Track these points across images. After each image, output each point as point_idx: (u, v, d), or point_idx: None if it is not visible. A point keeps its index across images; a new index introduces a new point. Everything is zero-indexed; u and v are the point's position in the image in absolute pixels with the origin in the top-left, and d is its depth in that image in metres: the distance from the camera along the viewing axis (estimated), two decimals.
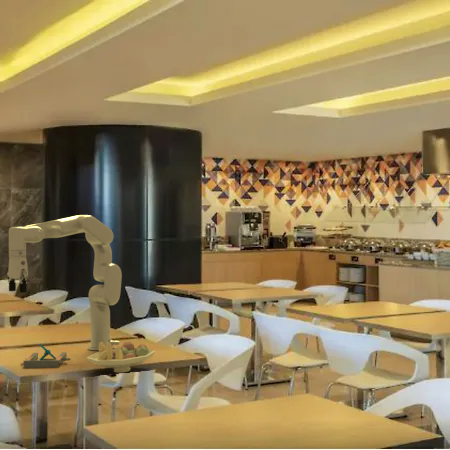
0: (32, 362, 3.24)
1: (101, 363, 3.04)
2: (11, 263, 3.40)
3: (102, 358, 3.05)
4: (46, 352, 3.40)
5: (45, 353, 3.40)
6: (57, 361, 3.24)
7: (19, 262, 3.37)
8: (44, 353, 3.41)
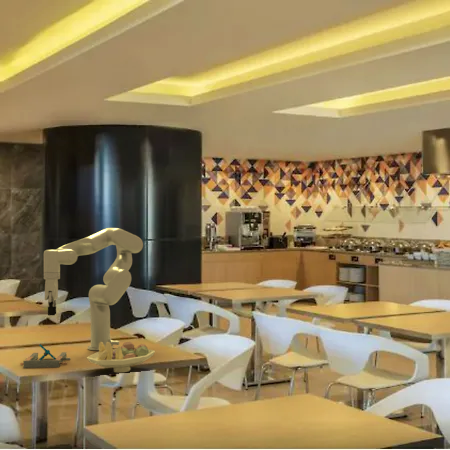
0: (32, 362, 3.24)
1: (101, 363, 3.04)
2: (56, 285, 3.53)
3: (102, 358, 3.05)
4: (46, 352, 3.40)
5: (45, 353, 3.40)
6: (57, 361, 3.24)
7: None
8: (44, 353, 3.41)
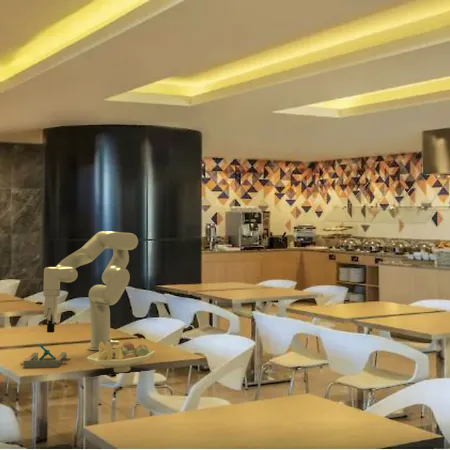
0: (32, 362, 3.24)
1: (101, 363, 3.04)
2: (56, 302, 3.53)
3: (102, 358, 3.05)
4: (45, 352, 3.40)
5: (44, 353, 3.40)
6: (57, 361, 3.24)
7: None
8: (43, 353, 3.41)
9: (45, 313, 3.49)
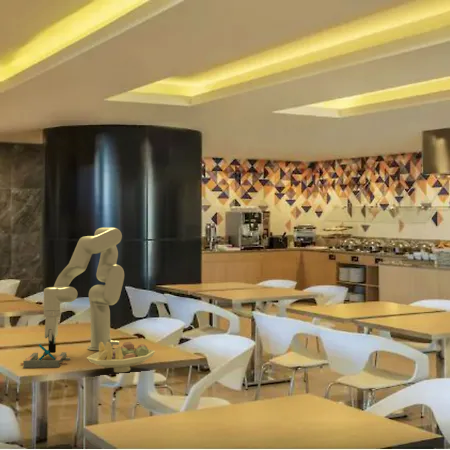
0: (32, 362, 3.24)
1: (101, 363, 3.04)
2: (56, 323, 3.53)
3: (102, 358, 3.05)
4: (45, 352, 3.40)
5: (44, 353, 3.40)
6: (57, 361, 3.24)
7: None
8: (43, 353, 3.41)
9: (46, 334, 3.49)
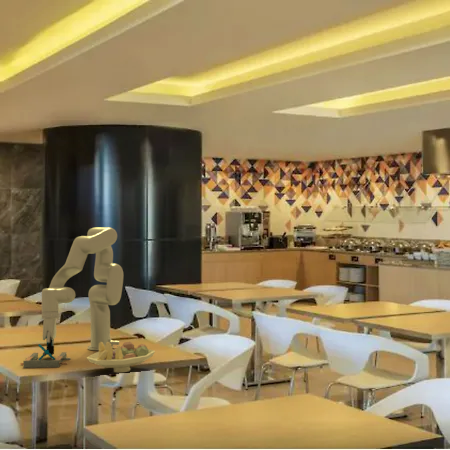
0: (32, 362, 3.24)
1: (101, 363, 3.04)
2: (55, 324, 3.48)
3: (102, 358, 3.05)
4: (45, 352, 3.40)
5: (44, 353, 3.40)
6: (57, 361, 3.24)
7: None
8: (43, 353, 3.40)
9: (44, 336, 3.44)
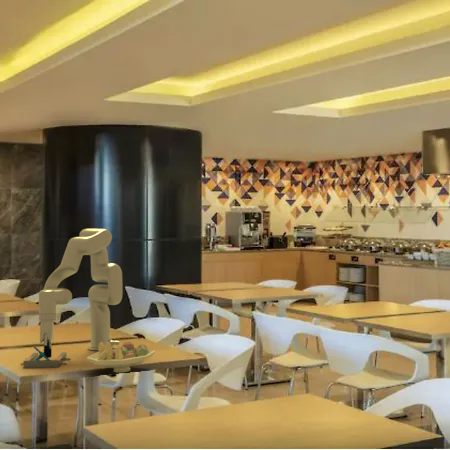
0: (32, 362, 3.24)
1: (101, 363, 3.04)
2: (52, 326, 3.40)
3: (102, 358, 3.05)
4: (40, 354, 3.34)
5: (39, 355, 3.34)
6: (57, 361, 3.24)
7: None
8: None
9: (41, 338, 3.36)
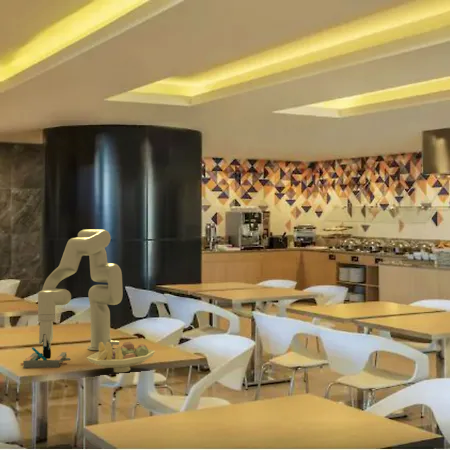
0: (32, 362, 3.24)
1: (101, 363, 3.04)
2: (51, 327, 3.38)
3: (102, 358, 3.05)
4: (38, 355, 3.32)
5: (37, 356, 3.32)
6: (57, 361, 3.24)
7: None
8: None
9: (40, 339, 3.34)
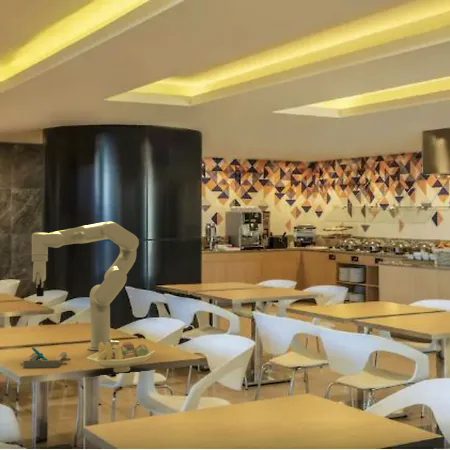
0: (32, 362, 3.24)
1: (101, 363, 3.04)
2: (44, 267, 3.61)
3: (102, 358, 3.05)
4: (38, 355, 3.32)
5: (37, 356, 3.32)
6: (57, 361, 3.24)
7: None
8: None
9: (34, 277, 3.57)
